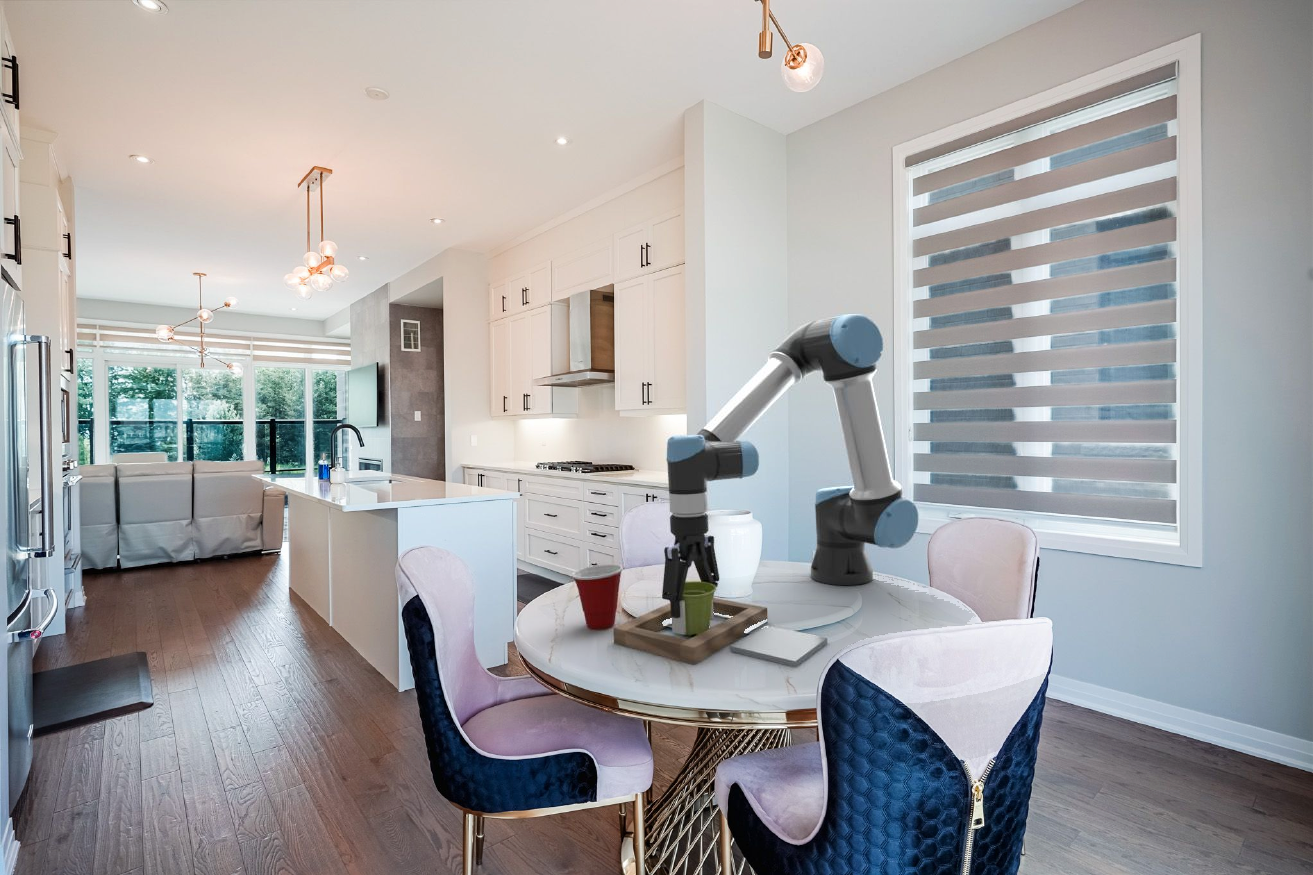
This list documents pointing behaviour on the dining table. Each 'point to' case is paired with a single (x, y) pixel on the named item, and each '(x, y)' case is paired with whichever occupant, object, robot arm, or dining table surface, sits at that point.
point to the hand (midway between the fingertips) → (693, 625)
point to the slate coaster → (779, 645)
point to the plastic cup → (599, 593)
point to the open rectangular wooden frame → (696, 649)
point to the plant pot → (697, 606)
